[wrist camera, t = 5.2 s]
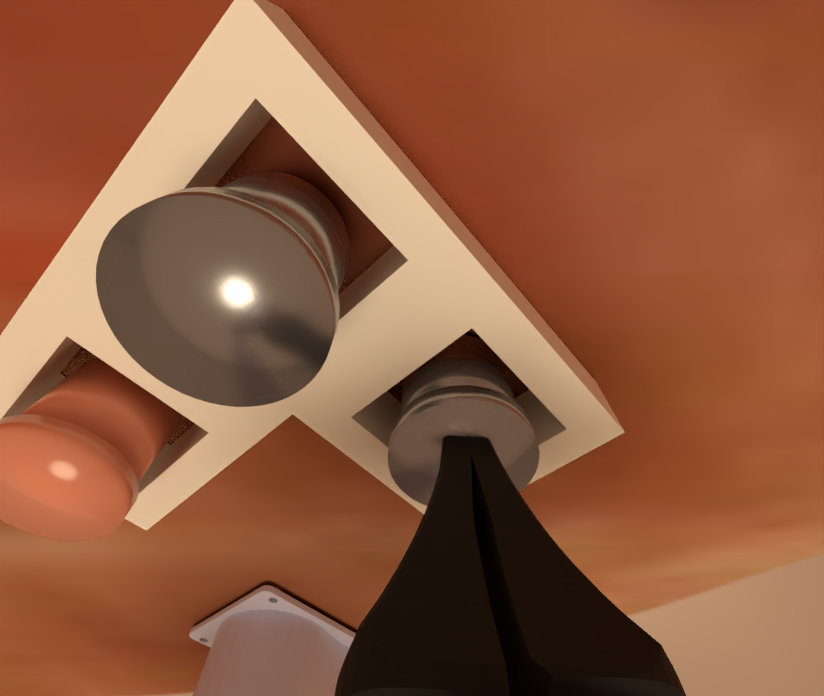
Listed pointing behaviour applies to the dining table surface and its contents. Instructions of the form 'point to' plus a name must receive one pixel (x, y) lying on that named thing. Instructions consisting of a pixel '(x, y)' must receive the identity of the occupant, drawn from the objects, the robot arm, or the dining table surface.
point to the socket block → (359, 302)
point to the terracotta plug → (81, 454)
